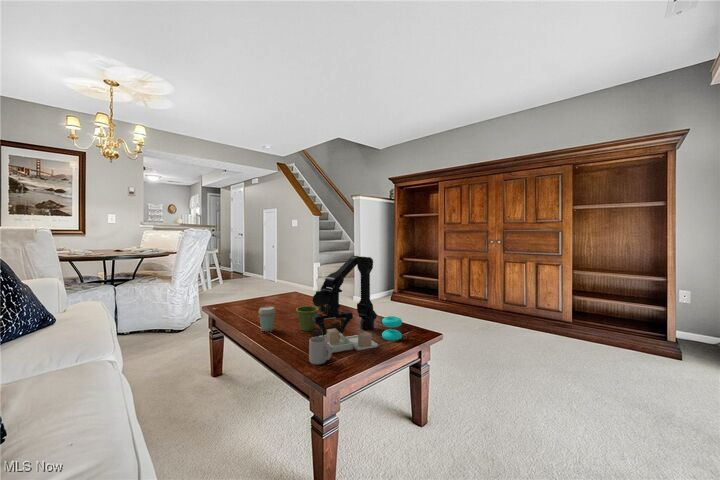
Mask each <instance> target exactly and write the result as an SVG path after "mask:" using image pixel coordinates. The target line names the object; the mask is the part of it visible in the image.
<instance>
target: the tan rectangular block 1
mask: <svg viewBox="0 0 720 480" xmlns="http://www.w3.org/2000/svg"><path fill="white" fill-rule="evenodd" d="M339 333H340V331H339V329H338V330H337V329H336V328H335V329H328V330H327V334H326V335H327V342H328V343H329V344H334V343H339Z"/></svg>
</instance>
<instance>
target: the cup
mask: <svg viewBox="0 0 720 480" xmlns="http://www.w3.org/2000/svg"><path fill="white" fill-rule="evenodd" d="M308 340H309V345H308V346H309V347H308V350H309V351H308V357H309V358H308V362H310V363H311V365H323V364H325V363H326V362H327V361H328V360H329V361H330V360H331V357H332V354H333V353H332V350H331V346H330V345H329V344H327V338H325V337H313V336H312V337H310V338H309V339H308Z"/></svg>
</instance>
